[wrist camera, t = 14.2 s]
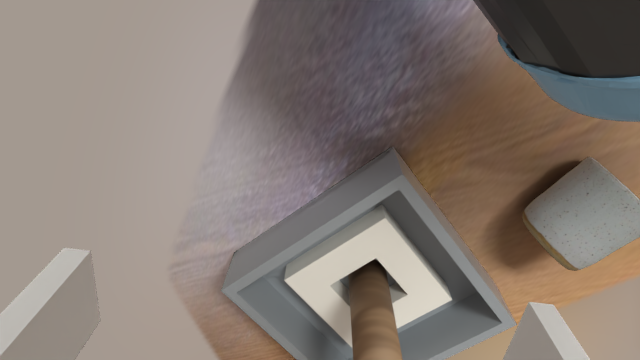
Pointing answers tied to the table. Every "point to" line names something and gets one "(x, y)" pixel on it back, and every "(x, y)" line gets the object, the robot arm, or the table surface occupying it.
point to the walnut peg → (372, 314)
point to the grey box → (354, 252)
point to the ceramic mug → (584, 216)
